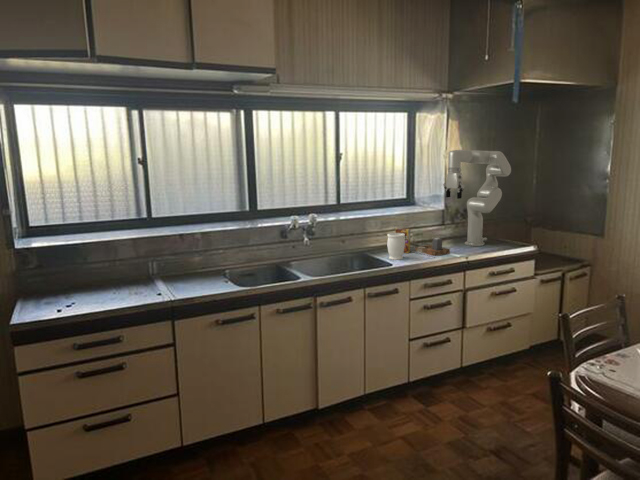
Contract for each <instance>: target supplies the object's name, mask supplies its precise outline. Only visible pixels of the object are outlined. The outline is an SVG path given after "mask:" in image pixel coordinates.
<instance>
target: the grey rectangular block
mask: <svg viewBox="0 0 640 480" xmlns="http://www.w3.org/2000/svg"><path fill="white" fill-rule="evenodd" d="M432 245H433V250H436V251H439V250H442V247H443V238H440V237H435V238H433V239H432Z"/></svg>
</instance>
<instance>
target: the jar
mask: <svg viewBox="0 0 640 480" xmlns="http://www.w3.org/2000/svg"><path fill="white" fill-rule="evenodd" d="M386 235H387V243H386V244H387V252H388V255H389V256H388V259H389V260H393V261H394V260H395V261H400V260H403V259H404V257H403V255H404V254H405V253H404V247H405V240H404V236H405V234H403V233H395V232H390V233H389V232H388V233H387V234H386Z"/></svg>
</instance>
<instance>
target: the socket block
mask: <svg viewBox="0 0 640 480" xmlns="http://www.w3.org/2000/svg"><path fill="white" fill-rule="evenodd" d="M446 248H447V247H446ZM446 248H442V250H439V251H436V250H433V244H425V245H420V246H415V248H414V250H415V253H416V254H420V255H424V256H427V257H431V258H434V259H435V258H436V257H437V256H443V255H444V256H445V255H448V254H450V251H451V248H450V249H446Z"/></svg>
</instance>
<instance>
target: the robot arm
mask: <svg viewBox="0 0 640 480" xmlns="http://www.w3.org/2000/svg"><path fill="white" fill-rule="evenodd" d="M447 157H448V161H447V162H448V164H447V167H448V168H447V174H446V182H444V183H443V187H444V189H445V198H451V190H452V189H453V190H456V191H457V193H456V195H457V196H456V199H457V200H459V199H462V197H463V195H462V194H463V191H464V190H465V187H466V185H465V184H464V183H463V175H462V172H461V171H462V169H461V168H462V167H461V166H462V163H467V164H477V165H479V164H480V165H481V164H482V165H487V166H486V168H485V174H486V175H485V176H486V178H485V181H484V183H483V184H482V186H481V187H480V188H479V189H478V190H477V193H476V196H475V197H473V196H472V197H471V198H469V199H467V201H466V210H467V239H466V241H465V242H464V245H465V246H470V247H482V246H485V242H484V241H487V240H488V238H487V237H483V231H484V230H483V229H484V227H483V225H484V218H483V214H482V213H484V214H489V213H491V212H492V211H493V210H494V209H495V207H496V206H497V205H498V203H499V202H500V201H501V199H502V196H503V192H502V189H501V188H499V182H498V179H497V177H509V175H511V173H512V166H511V164H510V163H509V161H508V159H507V157H506V156H505V154H504V153H503V152H502V151H500V150H478V149H477V150H473V149H472V150H469V149H454V150H449V151H448V156H447Z"/></svg>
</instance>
